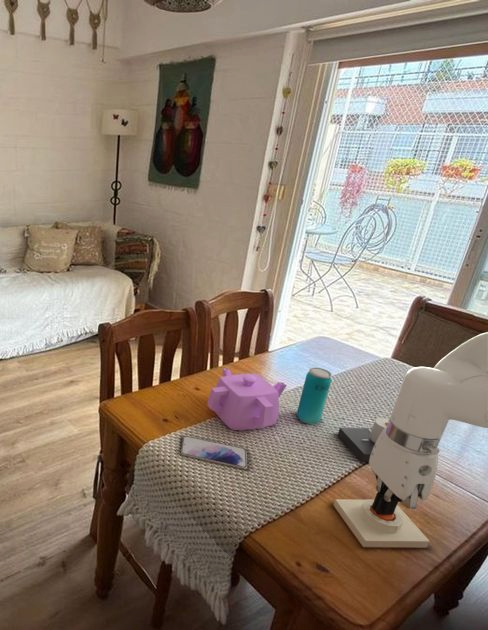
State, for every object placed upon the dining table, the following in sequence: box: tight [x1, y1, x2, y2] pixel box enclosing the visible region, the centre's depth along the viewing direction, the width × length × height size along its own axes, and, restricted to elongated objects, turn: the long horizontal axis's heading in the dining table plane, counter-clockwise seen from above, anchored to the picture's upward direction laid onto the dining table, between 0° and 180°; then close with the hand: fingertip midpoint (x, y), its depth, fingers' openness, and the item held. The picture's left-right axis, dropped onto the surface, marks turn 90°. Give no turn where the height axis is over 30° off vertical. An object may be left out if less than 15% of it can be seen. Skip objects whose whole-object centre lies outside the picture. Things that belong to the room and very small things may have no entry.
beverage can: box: [296, 367, 332, 425], centre depth 116 cm, size 6×6×15 cm
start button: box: [371, 508, 394, 521], centre depth 85 cm, size 4×4×2 cm
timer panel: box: [337, 427, 375, 463], centre depth 107 cm, size 14×10×3 cm
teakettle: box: [206, 368, 288, 431], centre depth 118 cm, size 17×17×12 cm
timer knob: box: [370, 417, 389, 443], centre depth 106 cm, size 4×4×5 cm
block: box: [333, 498, 430, 549], centre depth 86 cm, size 12×10×4 cm
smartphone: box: [180, 435, 248, 470], centre depth 106 cm, size 7×1×15 cm
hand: (382, 511), depth 85 cm, fingers closed
